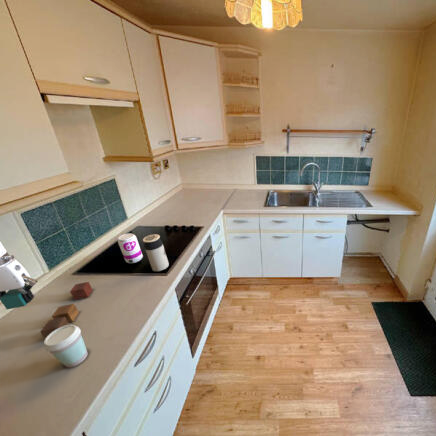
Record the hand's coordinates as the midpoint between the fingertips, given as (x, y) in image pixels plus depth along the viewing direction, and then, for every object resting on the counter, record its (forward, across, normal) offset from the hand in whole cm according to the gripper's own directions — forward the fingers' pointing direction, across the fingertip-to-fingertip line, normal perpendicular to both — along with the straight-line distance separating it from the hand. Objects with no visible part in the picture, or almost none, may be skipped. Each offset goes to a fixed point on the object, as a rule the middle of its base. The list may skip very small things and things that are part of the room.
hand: (20, 301), depth 83 cm
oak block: (+13, -10, 0) cm, 16 cm away
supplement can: (+13, -25, -38) cm, 47 cm away
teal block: (0, 0, 0) cm, 0 cm away
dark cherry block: (+13, -10, -14) cm, 21 cm away
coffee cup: (+13, -21, +21) cm, 33 cm away
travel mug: (+12, -40, -25) cm, 49 cm away
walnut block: (+13, -10, +7) cm, 17 cm away
